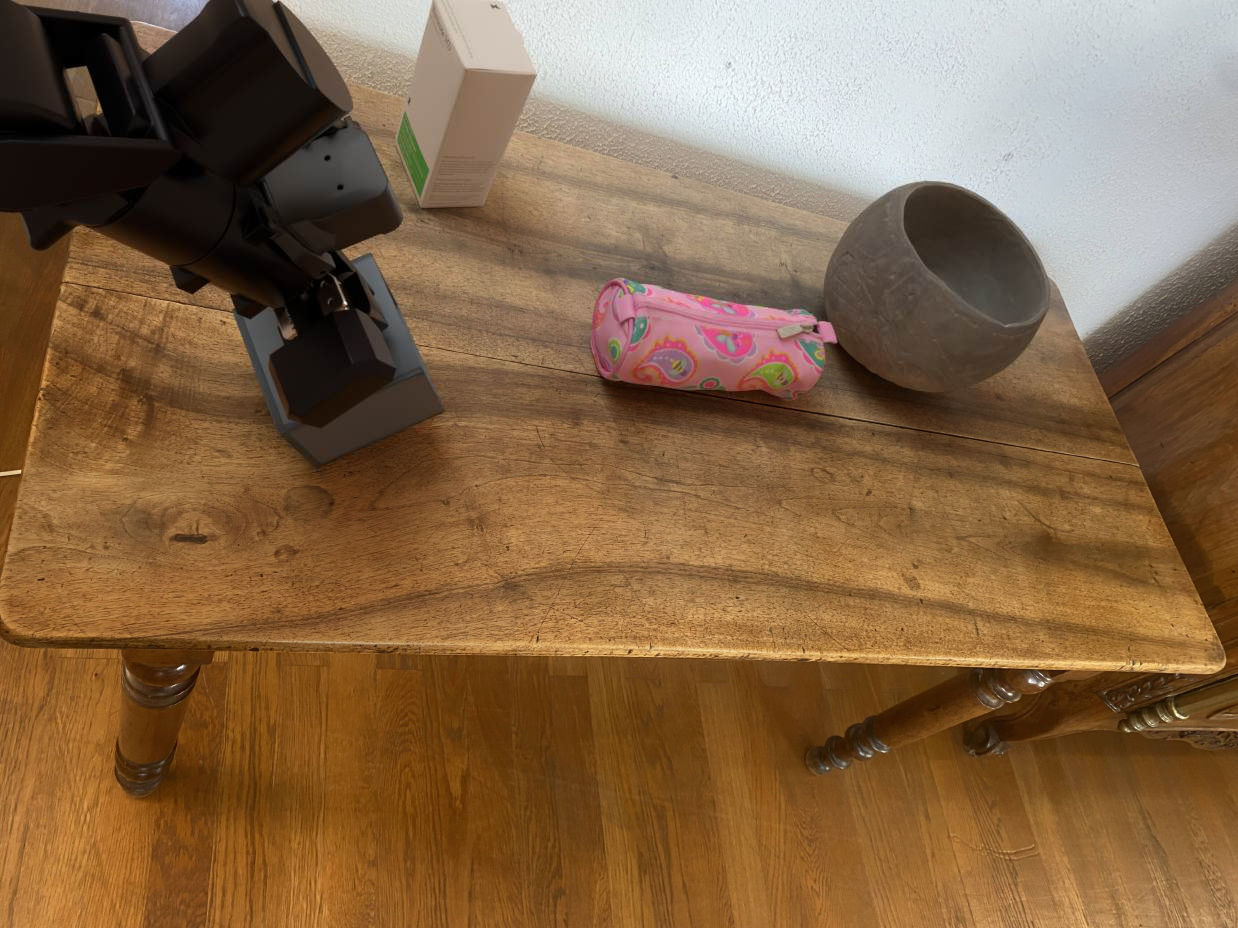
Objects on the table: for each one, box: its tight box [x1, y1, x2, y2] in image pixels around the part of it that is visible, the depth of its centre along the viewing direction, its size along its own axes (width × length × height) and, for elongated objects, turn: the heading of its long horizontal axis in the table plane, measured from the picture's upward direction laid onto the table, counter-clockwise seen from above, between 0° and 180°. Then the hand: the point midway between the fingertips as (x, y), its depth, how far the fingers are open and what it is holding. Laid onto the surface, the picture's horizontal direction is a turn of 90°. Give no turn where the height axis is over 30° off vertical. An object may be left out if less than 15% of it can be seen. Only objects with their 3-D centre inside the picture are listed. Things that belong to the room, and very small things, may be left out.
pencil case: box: [590, 277, 838, 402], centre depth 78 cm, size 21×9×9 cm, turn 99°
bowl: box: [822, 180, 1052, 393], centre depth 88 cm, size 21×21×15 cm
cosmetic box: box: [394, 0, 538, 209], centre depth 75 cm, size 8×7×16 cm
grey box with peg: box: [231, 252, 446, 469], centre depth 59 cm, size 12×10×10 cm
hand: (375, 312), depth 58 cm, fingers closed on grey box with peg, 2 cm apart
